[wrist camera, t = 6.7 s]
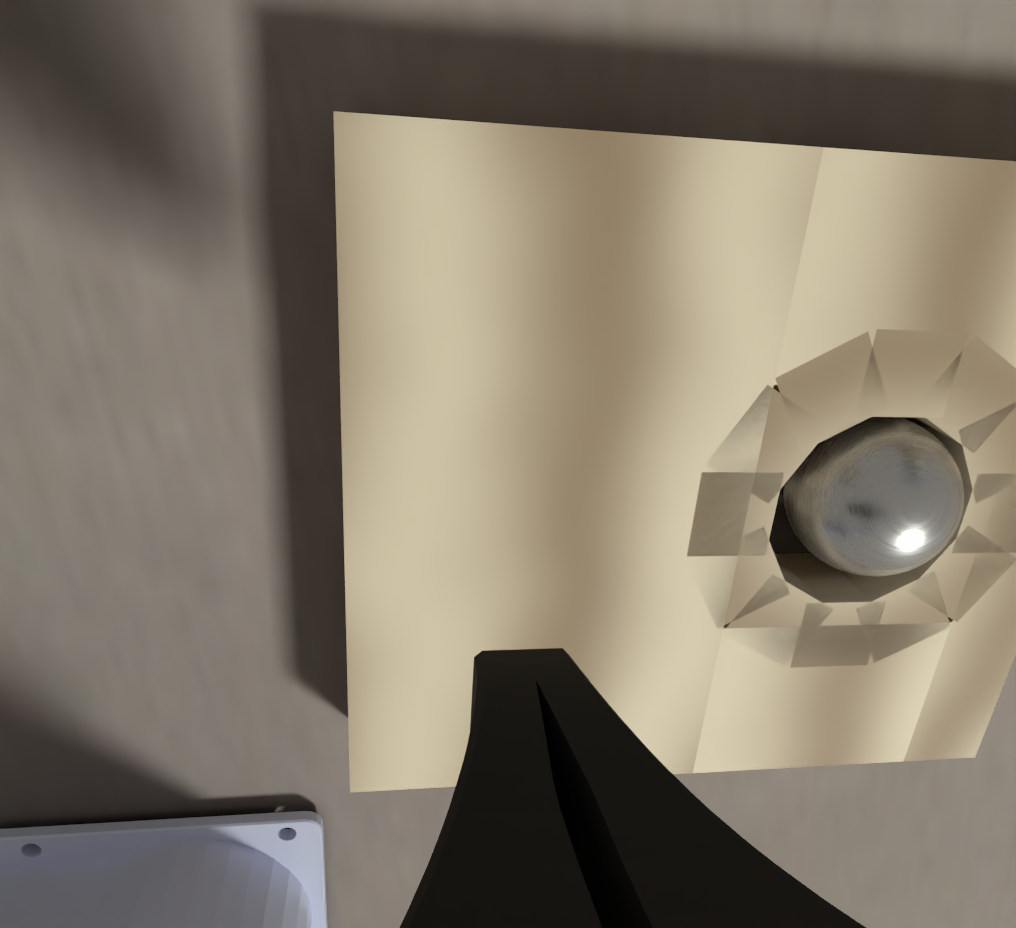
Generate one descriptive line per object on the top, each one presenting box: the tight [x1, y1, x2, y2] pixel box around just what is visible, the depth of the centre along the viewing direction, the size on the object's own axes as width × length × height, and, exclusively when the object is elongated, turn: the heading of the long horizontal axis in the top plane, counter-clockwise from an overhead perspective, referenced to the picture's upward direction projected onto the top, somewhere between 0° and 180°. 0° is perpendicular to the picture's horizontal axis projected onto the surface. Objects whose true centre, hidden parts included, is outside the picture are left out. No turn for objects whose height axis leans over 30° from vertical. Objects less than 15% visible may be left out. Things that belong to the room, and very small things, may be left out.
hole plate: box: [333, 111, 1016, 792], centre depth 19 cm, size 18×16×2 cm
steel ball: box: [783, 417, 964, 577], centre depth 19 cm, size 4×4×4 cm
